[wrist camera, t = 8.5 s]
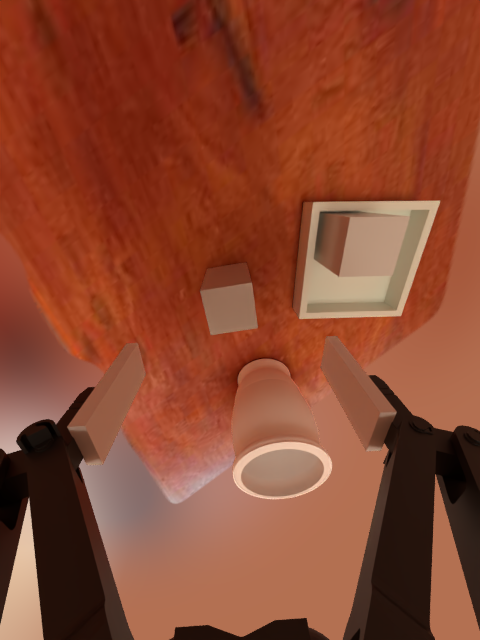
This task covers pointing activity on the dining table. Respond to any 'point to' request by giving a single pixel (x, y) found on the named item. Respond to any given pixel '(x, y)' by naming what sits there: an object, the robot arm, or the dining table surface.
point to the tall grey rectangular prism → (359, 242)
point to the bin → (364, 291)
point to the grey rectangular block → (229, 299)
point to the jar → (275, 435)
